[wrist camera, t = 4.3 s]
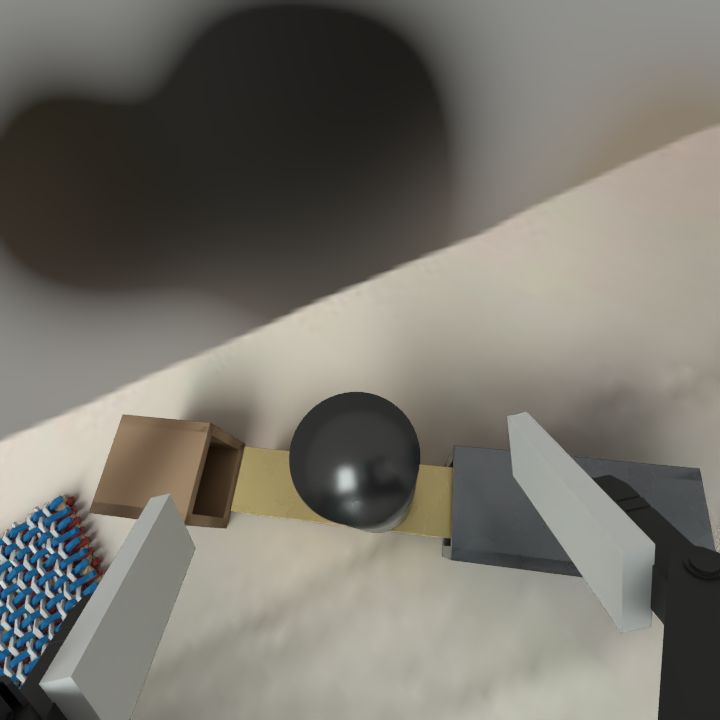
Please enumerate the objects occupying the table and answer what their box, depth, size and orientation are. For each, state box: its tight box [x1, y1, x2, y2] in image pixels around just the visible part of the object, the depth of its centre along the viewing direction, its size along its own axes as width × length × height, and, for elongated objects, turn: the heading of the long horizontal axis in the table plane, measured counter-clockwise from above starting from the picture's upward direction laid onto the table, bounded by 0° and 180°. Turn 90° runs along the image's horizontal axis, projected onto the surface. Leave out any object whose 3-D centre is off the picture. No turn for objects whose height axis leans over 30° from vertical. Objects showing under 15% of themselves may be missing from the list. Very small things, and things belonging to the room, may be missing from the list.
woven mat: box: [0, 496, 102, 690], centre depth 26 cm, size 10×11×2 cm
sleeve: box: [442, 446, 715, 577], centre depth 23 cm, size 12×6×6 cm, turn 83°
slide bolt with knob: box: [231, 392, 453, 539], centre depth 19 cm, size 23×4×15 cm, turn 83°
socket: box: [89, 415, 245, 528], centre depth 26 cm, size 6×6×6 cm
